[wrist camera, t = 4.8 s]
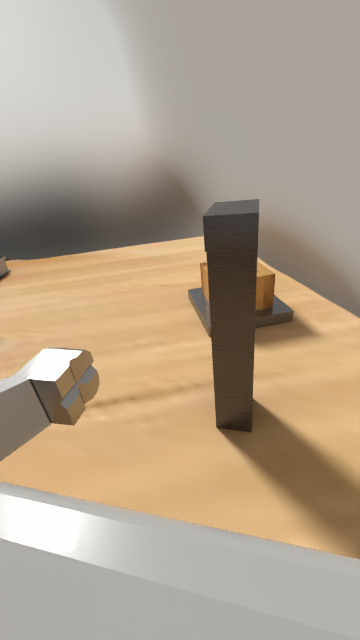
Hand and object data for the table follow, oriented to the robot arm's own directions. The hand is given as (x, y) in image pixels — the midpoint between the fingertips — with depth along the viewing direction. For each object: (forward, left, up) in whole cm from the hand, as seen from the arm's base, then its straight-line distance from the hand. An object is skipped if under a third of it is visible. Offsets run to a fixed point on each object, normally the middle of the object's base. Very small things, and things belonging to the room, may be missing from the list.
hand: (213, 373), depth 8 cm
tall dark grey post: (-3, +12, -15) cm, 19 cm away
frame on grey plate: (-9, +32, -15) cm, 36 cm away
